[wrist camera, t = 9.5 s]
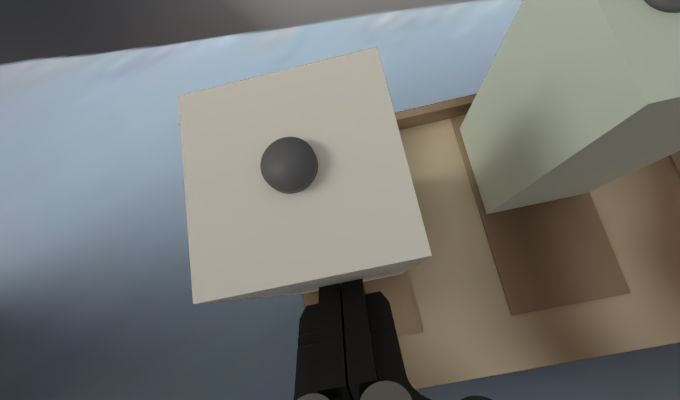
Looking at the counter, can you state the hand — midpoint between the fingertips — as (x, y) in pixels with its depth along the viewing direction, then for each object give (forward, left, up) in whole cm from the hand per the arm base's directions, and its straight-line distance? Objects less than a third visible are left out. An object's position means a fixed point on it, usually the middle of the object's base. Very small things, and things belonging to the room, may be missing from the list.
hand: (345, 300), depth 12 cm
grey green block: (+10, +1, -4) cm, 11 cm away
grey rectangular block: (+1, +3, -4) cm, 5 cm away
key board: (+9, -2, -6) cm, 11 cm away
